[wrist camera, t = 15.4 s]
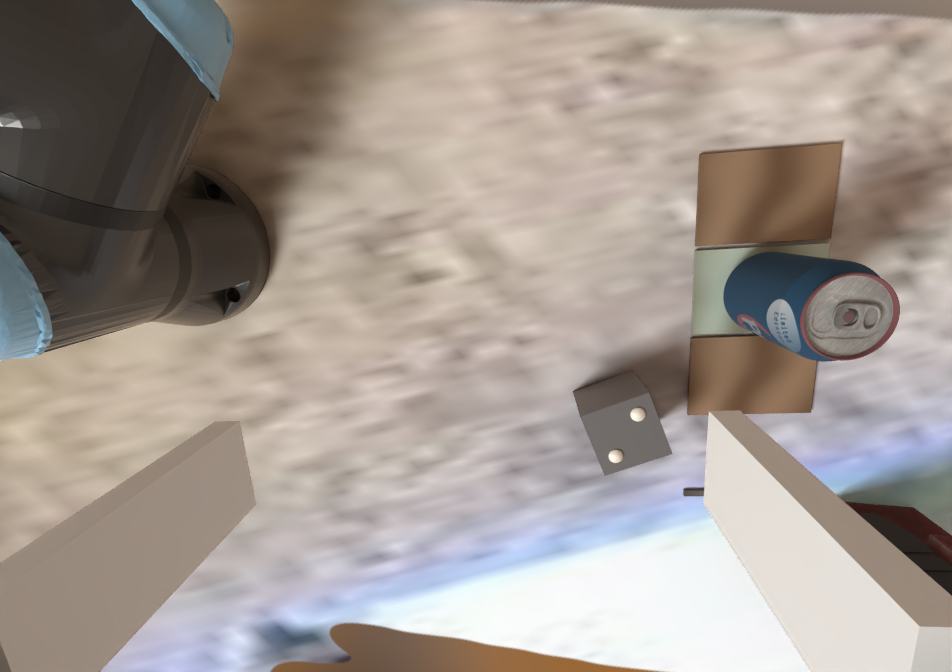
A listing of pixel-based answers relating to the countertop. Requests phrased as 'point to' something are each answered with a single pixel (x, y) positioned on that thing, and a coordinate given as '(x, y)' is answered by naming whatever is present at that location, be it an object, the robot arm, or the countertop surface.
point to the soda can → (812, 304)
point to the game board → (745, 221)
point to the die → (621, 422)
